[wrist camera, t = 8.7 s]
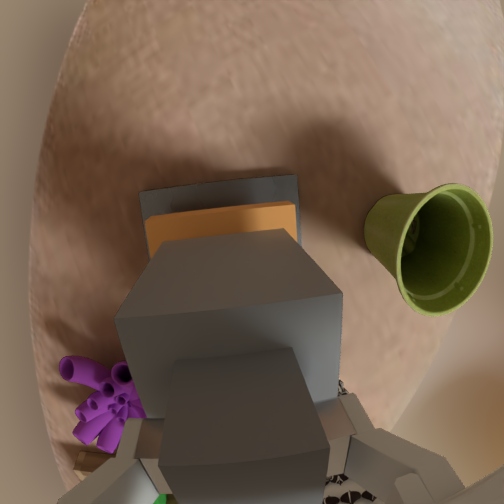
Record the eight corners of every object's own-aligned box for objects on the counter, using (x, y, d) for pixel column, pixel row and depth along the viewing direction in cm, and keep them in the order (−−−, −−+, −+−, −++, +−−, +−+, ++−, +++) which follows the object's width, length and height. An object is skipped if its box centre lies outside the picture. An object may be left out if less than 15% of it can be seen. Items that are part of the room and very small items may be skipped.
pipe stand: (142, 191, 24) (67, 220, 11) (293, 174, 25) (368, 186, 12) (166, 327, 27) (137, 440, 14) (300, 312, 28) (355, 415, 15)
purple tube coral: (164, 325, 31) (221, 384, 25) (149, 424, 34) (192, 480, 28) (54, 335, 23) (87, 415, 17) (65, 442, 26) (99, 510, 20)
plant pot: (431, 173, 26) (495, 182, 18) (430, 268, 29) (486, 301, 20) (342, 178, 26) (395, 187, 17) (347, 285, 28) (392, 330, 20)
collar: (151, 216, 20) (144, 221, 18) (288, 200, 21) (294, 204, 19) (173, 337, 23) (170, 352, 21) (294, 323, 23) (301, 336, 22)
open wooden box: (80, 451, 31) (73, 469, 28) (205, 454, 32) (205, 476, 29) (107, 490, 34) (103, 508, 30) (219, 493, 35) (220, 513, 32)
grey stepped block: (162, 241, 17) (61, 411, 5) (283, 228, 18) (412, 373, 5) (182, 345, 19) (158, 544, 7) (289, 333, 19) (363, 520, 7)
